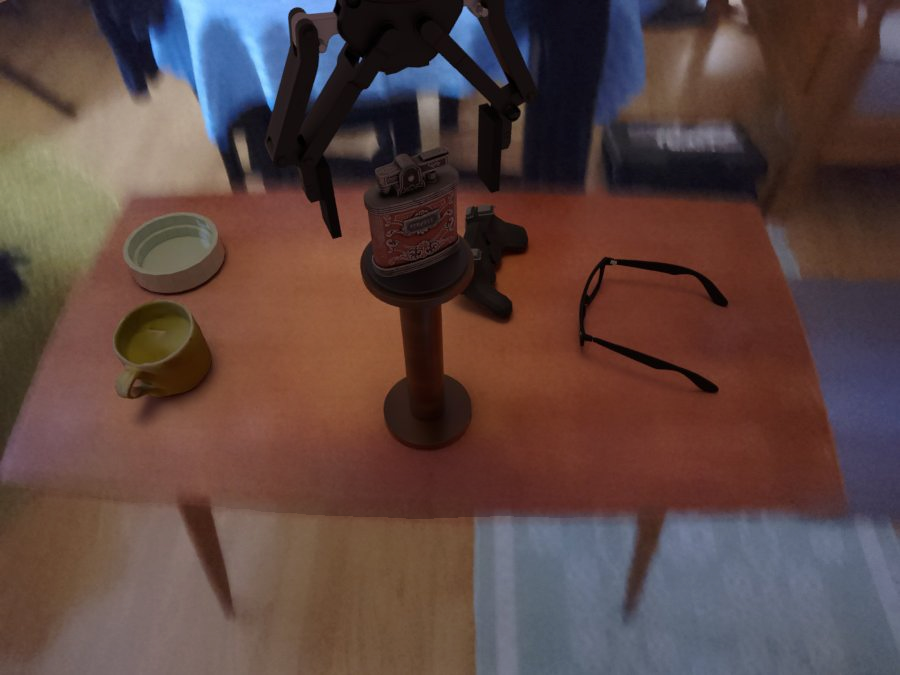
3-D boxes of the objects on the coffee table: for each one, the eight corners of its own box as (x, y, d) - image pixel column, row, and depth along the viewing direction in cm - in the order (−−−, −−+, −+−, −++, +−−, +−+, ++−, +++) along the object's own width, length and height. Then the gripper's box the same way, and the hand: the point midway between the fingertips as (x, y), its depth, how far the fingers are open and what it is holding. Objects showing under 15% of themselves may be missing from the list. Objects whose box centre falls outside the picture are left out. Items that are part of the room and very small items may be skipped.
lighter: (383, 283, 57) (370, 186, 50) (366, 258, 59) (352, 162, 52) (466, 251, 60) (467, 154, 52) (448, 228, 62) (446, 132, 54)
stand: (402, 463, 74) (382, 311, 55) (372, 394, 80) (344, 236, 61) (486, 431, 76) (493, 275, 58) (450, 366, 82) (446, 206, 64)
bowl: (140, 307, 89) (128, 285, 86) (128, 248, 97) (117, 226, 94) (234, 279, 93) (226, 257, 89) (216, 224, 100) (208, 202, 97)
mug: (164, 311, 86) (145, 276, 77) (232, 352, 86) (221, 323, 77) (97, 389, 81) (68, 362, 72) (169, 434, 81) (149, 412, 72)
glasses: (591, 275, 93) (595, 247, 89) (727, 300, 89) (737, 272, 85) (564, 366, 83) (567, 340, 79) (716, 400, 79) (727, 373, 75)
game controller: (490, 248, 99) (458, 195, 93) (533, 237, 96) (503, 182, 90) (467, 331, 89) (430, 278, 83) (514, 322, 86) (478, 266, 80)
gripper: (551, -141, 44) (527, 142, 60) (158, -78, 38) (249, 218, 54) (614, -105, 40) (570, 190, 56) (180, -27, 33) (273, 279, 50)
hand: (412, 204), depth 55 cm, fingers open, 13 cm apart
